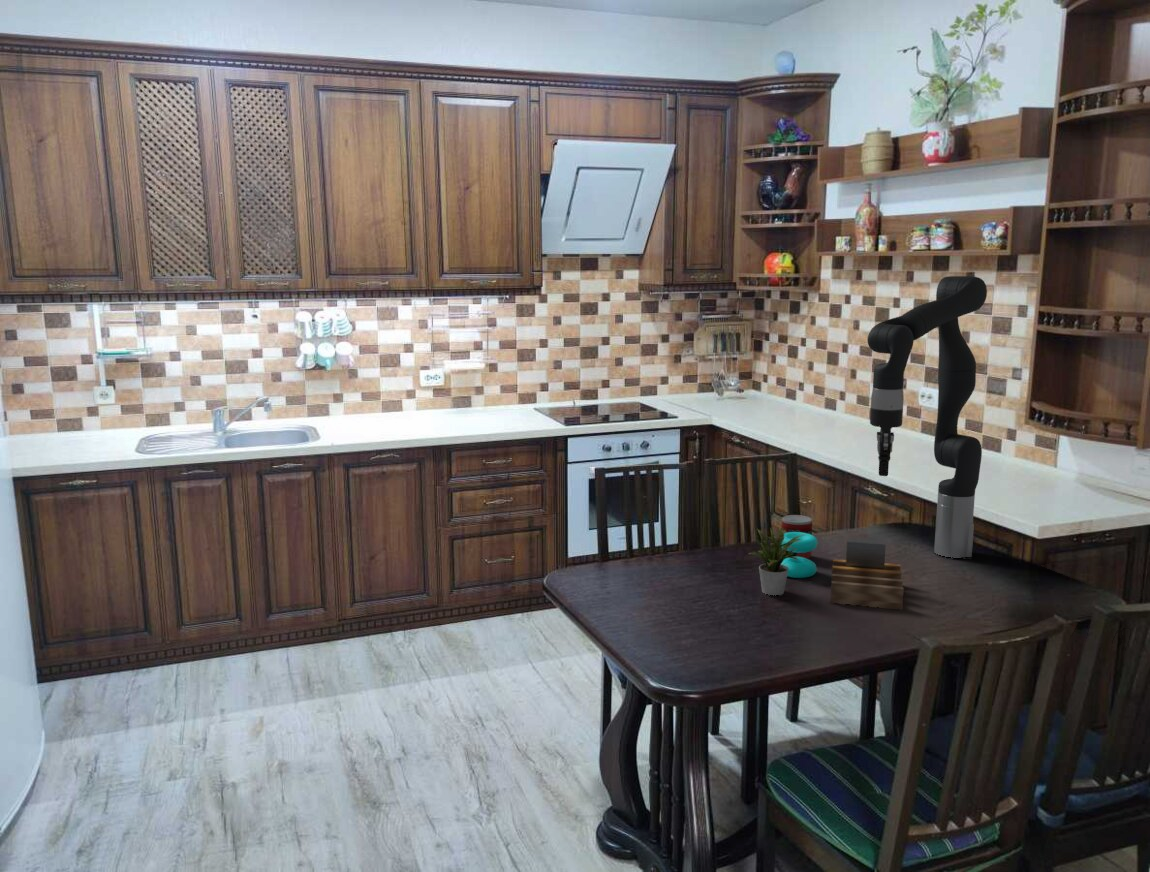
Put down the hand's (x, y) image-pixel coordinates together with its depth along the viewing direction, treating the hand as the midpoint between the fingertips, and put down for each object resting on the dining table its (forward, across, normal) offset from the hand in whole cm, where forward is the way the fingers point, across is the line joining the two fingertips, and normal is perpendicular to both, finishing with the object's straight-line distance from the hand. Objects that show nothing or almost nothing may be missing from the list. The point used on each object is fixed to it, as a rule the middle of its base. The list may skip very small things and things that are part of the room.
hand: (883, 475), depth 226 cm
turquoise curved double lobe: (+27, -1, +20) cm, 34 cm away
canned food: (+27, +12, +21) cm, 36 cm away
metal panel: (+25, -7, +3) cm, 26 cm away
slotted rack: (+27, -12, +3) cm, 30 cm away
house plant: (+27, -18, +24) cm, 40 cm away
